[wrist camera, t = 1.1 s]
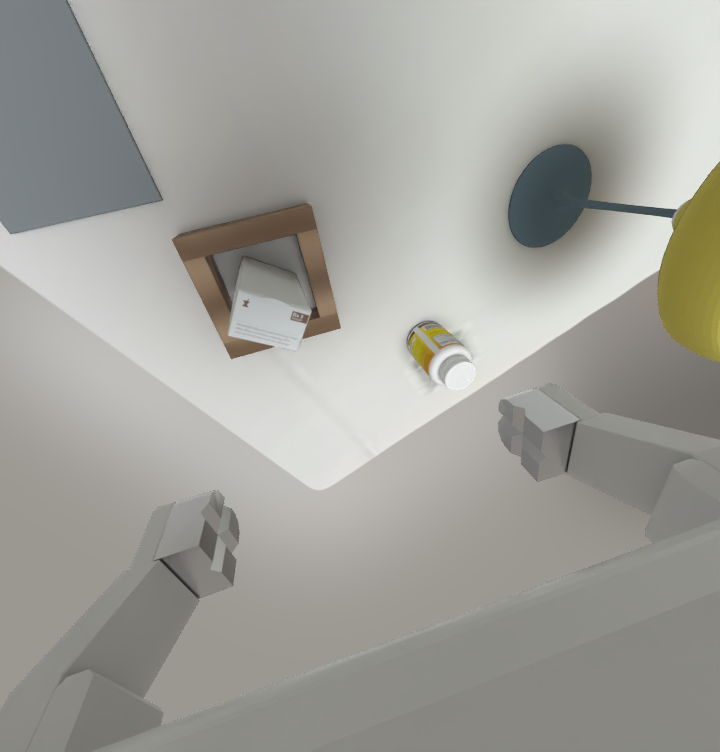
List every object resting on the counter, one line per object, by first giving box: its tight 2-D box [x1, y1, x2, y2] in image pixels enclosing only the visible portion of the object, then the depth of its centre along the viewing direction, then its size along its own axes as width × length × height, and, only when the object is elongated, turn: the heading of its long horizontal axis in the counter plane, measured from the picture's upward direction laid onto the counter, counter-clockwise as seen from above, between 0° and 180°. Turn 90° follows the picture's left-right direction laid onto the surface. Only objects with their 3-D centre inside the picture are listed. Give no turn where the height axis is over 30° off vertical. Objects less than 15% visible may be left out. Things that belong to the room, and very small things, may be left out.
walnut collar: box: [172, 204, 341, 359], centre depth 34 cm, size 13×13×3 cm
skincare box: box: [228, 256, 311, 352], centre depth 31 cm, size 6×4×12 cm
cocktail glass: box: [509, 144, 720, 362], centre depth 28 cm, size 18×18×25 cm
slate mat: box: [0, 0, 163, 234], centre depth 25 cm, size 13×13×1 cm
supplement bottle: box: [407, 322, 476, 390], centre depth 41 cm, size 6×6×10 cm
